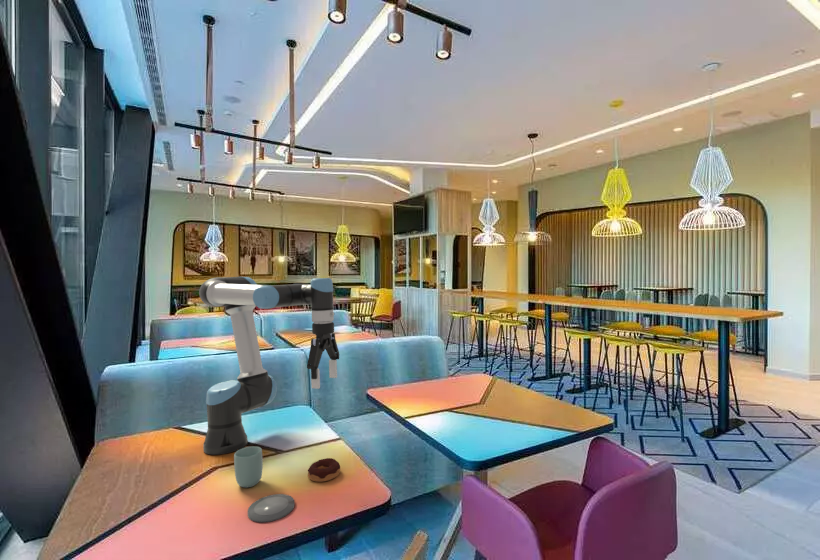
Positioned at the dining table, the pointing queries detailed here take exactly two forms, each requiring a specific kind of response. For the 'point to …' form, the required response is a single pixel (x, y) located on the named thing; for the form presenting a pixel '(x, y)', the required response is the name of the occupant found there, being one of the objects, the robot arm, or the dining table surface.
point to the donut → (324, 470)
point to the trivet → (271, 508)
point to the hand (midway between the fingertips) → (324, 382)
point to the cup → (248, 466)
